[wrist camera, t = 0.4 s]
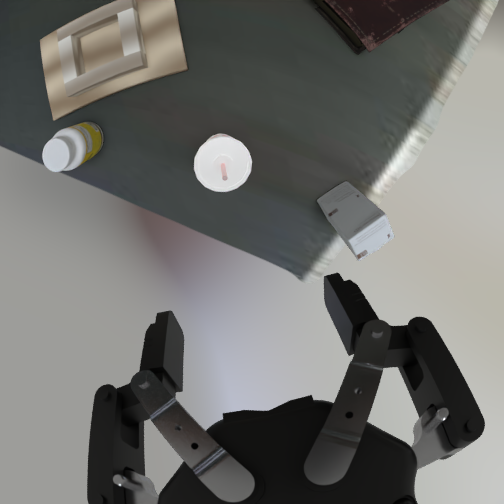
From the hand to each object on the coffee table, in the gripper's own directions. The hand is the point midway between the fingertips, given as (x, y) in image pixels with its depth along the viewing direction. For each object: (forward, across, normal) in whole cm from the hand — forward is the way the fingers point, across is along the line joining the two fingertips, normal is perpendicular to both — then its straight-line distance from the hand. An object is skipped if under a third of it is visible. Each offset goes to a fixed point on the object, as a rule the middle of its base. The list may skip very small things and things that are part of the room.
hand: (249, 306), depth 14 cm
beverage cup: (+28, 0, -2) cm, 28 cm away
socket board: (+28, +12, -22) cm, 37 cm away
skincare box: (+27, -16, +9) cm, 33 cm away
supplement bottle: (+28, +18, -10) cm, 34 cm away
